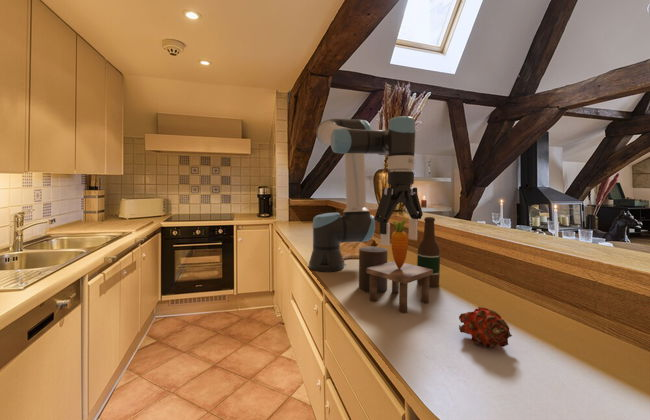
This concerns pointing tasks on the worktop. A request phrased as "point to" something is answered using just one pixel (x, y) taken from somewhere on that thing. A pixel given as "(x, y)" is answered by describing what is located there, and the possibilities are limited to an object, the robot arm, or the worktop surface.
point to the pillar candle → (369, 259)
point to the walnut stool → (400, 280)
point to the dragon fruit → (485, 327)
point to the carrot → (399, 243)
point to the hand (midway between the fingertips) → (399, 242)
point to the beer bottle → (429, 253)
